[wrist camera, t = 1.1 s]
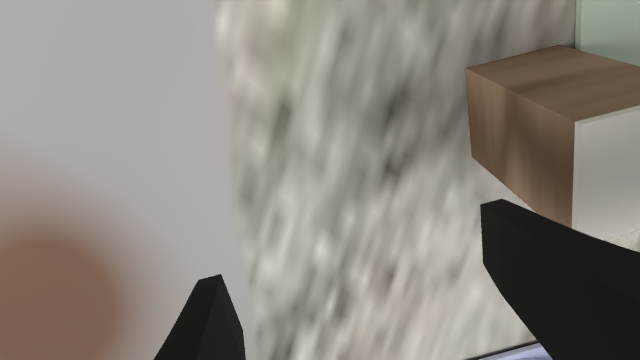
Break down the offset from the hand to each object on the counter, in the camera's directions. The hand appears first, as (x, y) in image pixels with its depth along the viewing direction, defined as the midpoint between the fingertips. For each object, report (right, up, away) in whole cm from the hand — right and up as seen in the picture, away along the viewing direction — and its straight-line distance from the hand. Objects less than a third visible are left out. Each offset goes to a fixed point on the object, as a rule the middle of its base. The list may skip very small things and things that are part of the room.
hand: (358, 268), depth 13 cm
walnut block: (+8, +6, +10) cm, 14 cm away
